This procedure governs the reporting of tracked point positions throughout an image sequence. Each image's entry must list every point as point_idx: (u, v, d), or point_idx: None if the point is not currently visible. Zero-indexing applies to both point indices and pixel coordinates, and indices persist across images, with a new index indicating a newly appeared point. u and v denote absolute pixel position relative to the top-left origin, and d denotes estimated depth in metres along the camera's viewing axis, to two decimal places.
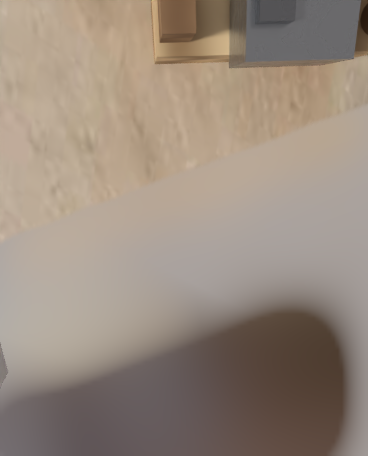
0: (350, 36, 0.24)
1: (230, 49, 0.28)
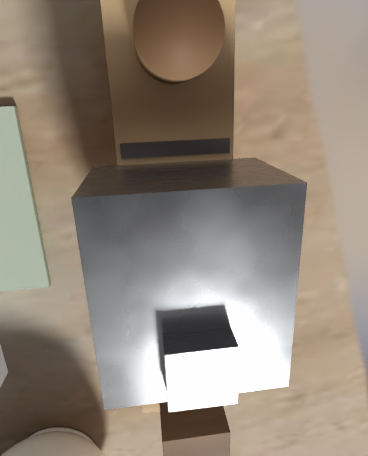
0: (260, 200, 0.10)
1: None
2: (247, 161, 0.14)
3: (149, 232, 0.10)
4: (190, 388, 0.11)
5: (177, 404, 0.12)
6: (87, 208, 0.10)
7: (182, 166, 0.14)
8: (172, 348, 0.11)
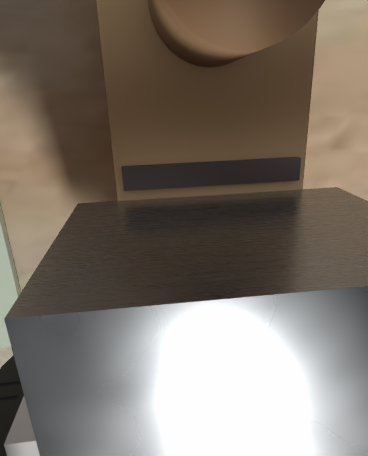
0: None
1: None
2: (331, 196, 0.09)
3: (180, 377, 0.05)
4: None
5: None
6: (42, 338, 0.04)
7: (226, 206, 0.08)
8: None
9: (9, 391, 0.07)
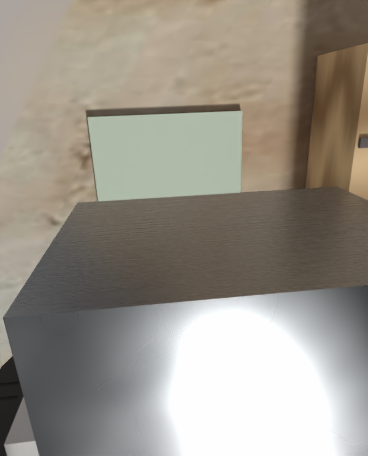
0: None
1: None
2: (332, 195, 0.09)
3: (181, 377, 0.05)
4: None
5: None
6: (42, 337, 0.04)
7: (226, 206, 0.08)
8: None
9: (9, 391, 0.07)
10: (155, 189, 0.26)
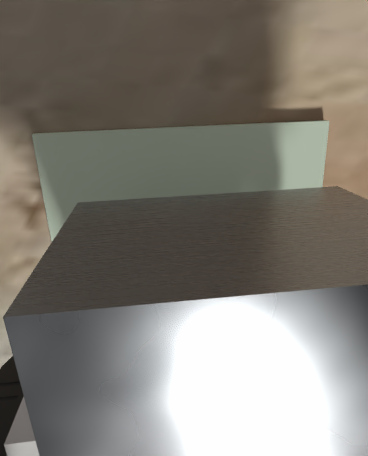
0: None
1: None
2: (331, 195, 0.09)
3: (180, 375, 0.05)
4: None
5: None
6: (42, 337, 0.04)
7: (226, 205, 0.08)
8: None
9: (9, 391, 0.07)
10: None
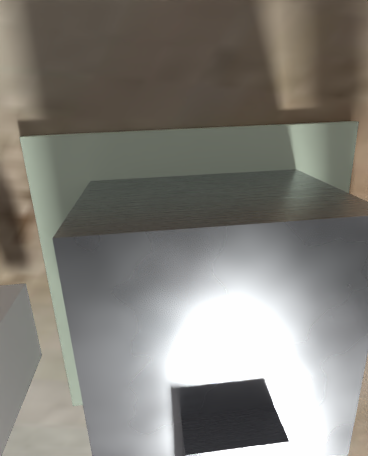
0: (326, 238, 0.07)
1: None
2: (288, 174, 0.11)
3: (165, 284, 0.07)
4: None
5: None
6: (76, 252, 0.07)
7: (205, 182, 0.11)
8: (196, 442, 0.08)
9: None
10: None
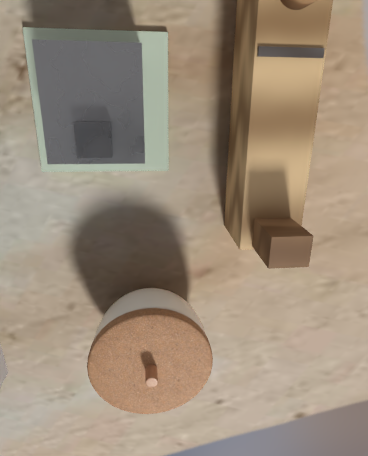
0: (120, 49, 0.23)
1: None
2: None
3: (67, 61, 0.23)
4: (87, 144, 0.24)
5: (81, 153, 0.24)
6: (39, 45, 0.22)
7: None
8: (78, 121, 0.23)
9: None
10: None
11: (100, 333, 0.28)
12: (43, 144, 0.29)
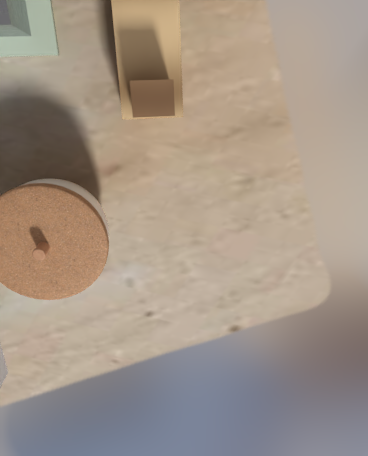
0: None
1: (13, 35, 0.30)
2: None
3: None
4: None
5: None
6: None
7: None
8: None
9: None
10: None
11: None
12: None
